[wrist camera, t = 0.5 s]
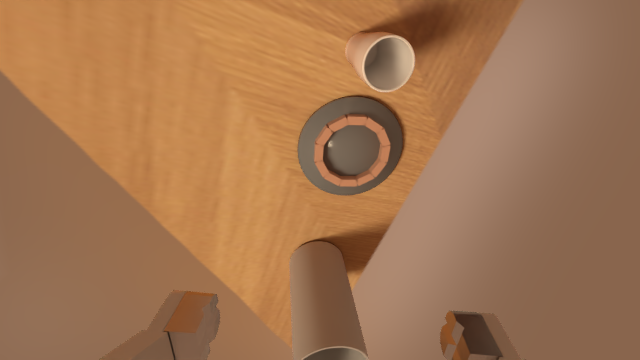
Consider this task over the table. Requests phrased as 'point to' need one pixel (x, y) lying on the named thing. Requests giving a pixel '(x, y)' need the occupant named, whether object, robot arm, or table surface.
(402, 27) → the table surface
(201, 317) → the robot arm
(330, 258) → the cylinder vase
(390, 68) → the drinking glass
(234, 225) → the table surface
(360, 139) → the round tray
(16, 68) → the table surface
